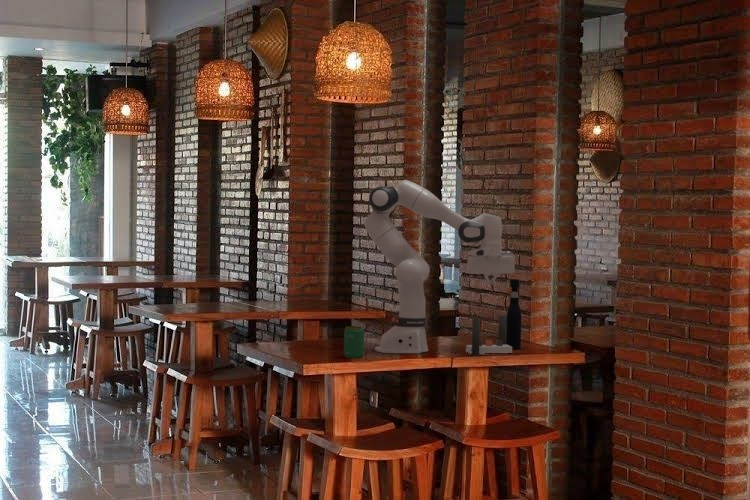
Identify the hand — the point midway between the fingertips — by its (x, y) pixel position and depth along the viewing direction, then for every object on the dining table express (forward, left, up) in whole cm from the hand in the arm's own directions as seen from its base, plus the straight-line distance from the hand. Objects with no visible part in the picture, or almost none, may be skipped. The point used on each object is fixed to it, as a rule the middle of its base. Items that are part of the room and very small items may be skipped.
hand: (490, 284), depth 443 cm
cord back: (+8, +7, -29) cm, 31 cm away
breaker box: (0, 0, -29) cm, 29 cm away
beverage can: (-59, -6, -29) cm, 66 cm away
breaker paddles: (0, 0, -26) cm, 26 cm away
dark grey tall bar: (-8, -6, -29) cm, 31 cm away
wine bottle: (+15, +12, -29) cm, 35 cm away
